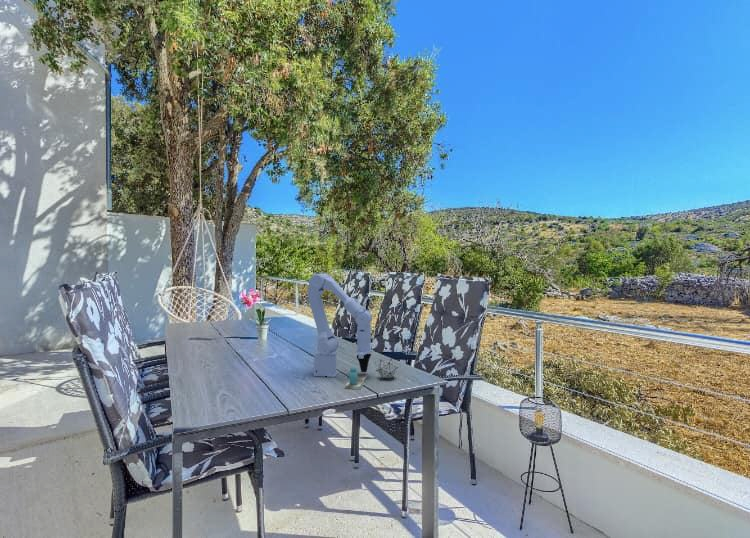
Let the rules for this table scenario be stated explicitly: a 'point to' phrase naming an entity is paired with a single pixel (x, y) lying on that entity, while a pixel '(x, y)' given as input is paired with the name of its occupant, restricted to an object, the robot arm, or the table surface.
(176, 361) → the table surface
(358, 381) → the board
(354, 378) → the pawn
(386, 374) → the game die
